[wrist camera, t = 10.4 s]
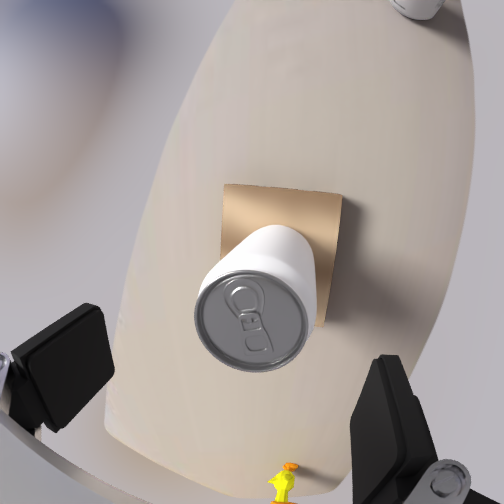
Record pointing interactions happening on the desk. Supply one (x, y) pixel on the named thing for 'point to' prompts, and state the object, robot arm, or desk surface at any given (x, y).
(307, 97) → the desk surface
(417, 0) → the energy drink can
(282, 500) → the toy figure
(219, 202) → the desk surface
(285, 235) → the can
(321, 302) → the dock
